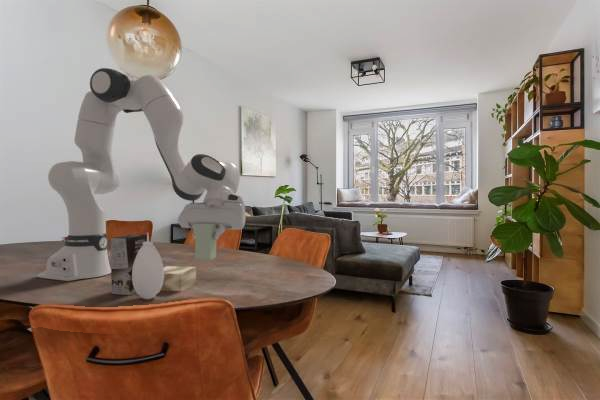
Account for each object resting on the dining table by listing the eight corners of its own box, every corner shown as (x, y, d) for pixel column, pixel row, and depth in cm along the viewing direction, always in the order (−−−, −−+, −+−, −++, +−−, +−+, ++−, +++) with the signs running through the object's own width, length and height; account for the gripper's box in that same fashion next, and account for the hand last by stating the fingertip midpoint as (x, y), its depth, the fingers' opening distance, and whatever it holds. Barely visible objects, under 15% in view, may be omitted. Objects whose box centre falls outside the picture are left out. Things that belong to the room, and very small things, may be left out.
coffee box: (130, 295, 97) (129, 237, 97) (110, 294, 99) (109, 237, 98) (150, 286, 106) (150, 234, 106) (132, 285, 107) (131, 233, 107)
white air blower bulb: (140, 305, 89) (139, 234, 89) (127, 298, 94) (126, 232, 94) (169, 298, 95) (168, 232, 95) (155, 292, 100) (155, 230, 100)
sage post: (195, 259, 100) (195, 224, 100) (201, 256, 105) (201, 223, 104) (210, 259, 100) (210, 224, 99) (216, 256, 104) (216, 223, 104)
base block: (149, 290, 103) (148, 273, 103) (166, 281, 113) (166, 265, 112) (181, 291, 101) (181, 274, 101) (196, 282, 111) (196, 266, 111)
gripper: (183, 195, 110) (167, 230, 100) (246, 196, 107) (236, 232, 98) (189, 209, 114) (175, 243, 105) (250, 210, 112) (240, 245, 102)
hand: (205, 238), depth 101 cm, fingers closed on sage post, 4 cm apart
